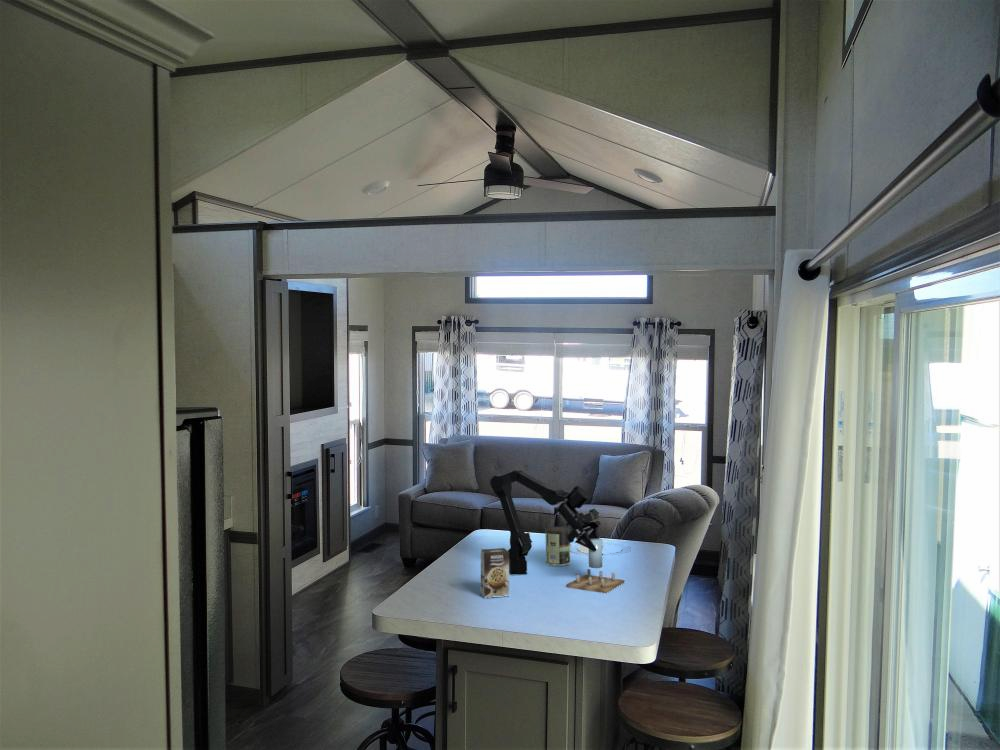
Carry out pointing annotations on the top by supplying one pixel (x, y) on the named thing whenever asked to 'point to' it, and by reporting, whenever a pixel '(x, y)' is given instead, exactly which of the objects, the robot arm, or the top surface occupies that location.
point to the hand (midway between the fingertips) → (598, 549)
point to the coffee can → (557, 546)
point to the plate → (584, 549)
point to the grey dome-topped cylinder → (596, 554)
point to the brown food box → (494, 572)
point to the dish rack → (595, 582)
